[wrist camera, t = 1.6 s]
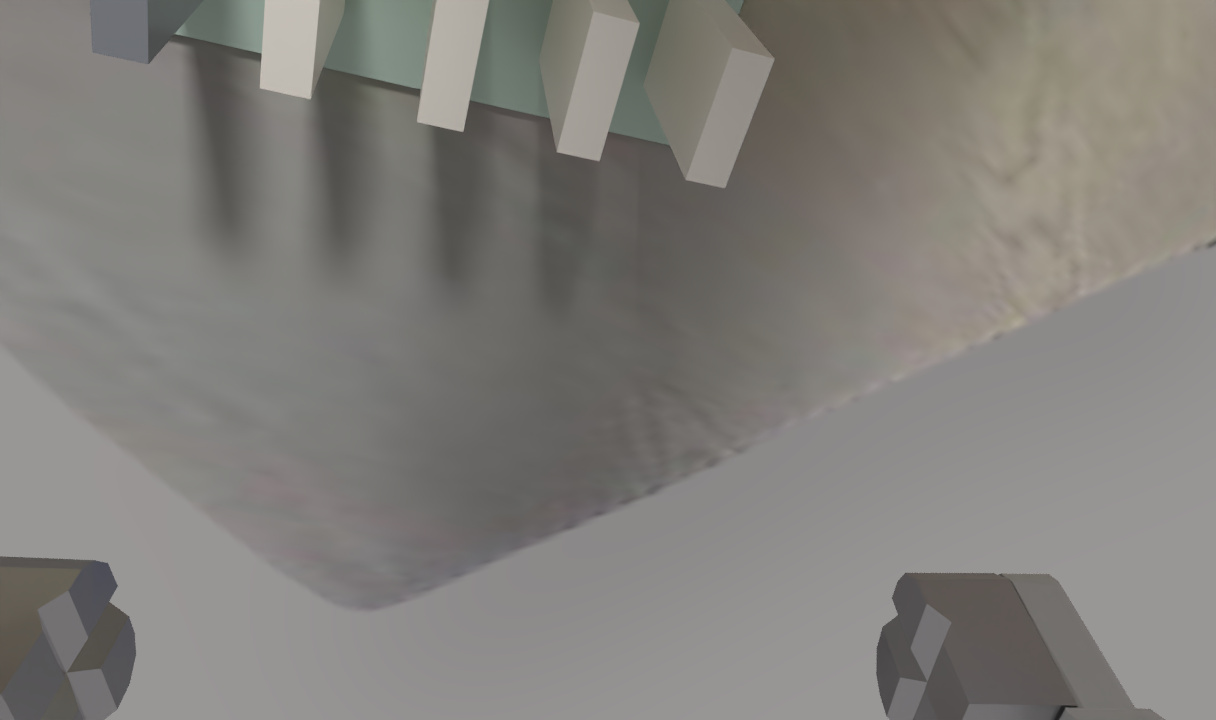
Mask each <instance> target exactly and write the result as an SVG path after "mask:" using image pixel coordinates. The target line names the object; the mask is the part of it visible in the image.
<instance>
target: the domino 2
mask: <svg viewBox="0 0 1216 720" xmlns="http://www.w3.org/2000/svg"><path fill="white" fill-rule="evenodd" d="M344 7H345V0H265V8H264V25H263V42H262V59H261V76H260V88H261V89H266V90H270V91H275V92H280V93H284V94H289V95H293V96H298V97H303V98H307V99H311V97H312V94H313V92H314V89H315V87H316V84H317V82H318V79H319V76H320V74H321V71H322V69H323V66H324V63H325V61H326V58H327V56H328V53H329V50H330V48H331V45H332V43H333V40H334V38H335V35H336V32H337V30H338V27H339V25H340V22H341V19H342V17H343V14H344Z"/></svg>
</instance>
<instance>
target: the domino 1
mask: <svg viewBox="0 0 1216 720" xmlns="http://www.w3.org/2000/svg"><path fill="white" fill-rule="evenodd" d="M202 1H203V0H90V8H91V29H92V49H93V52H94V53H98V54H103V55H108V56H112V57H117V58H122V59H126V60H131V61H136V62H140V63H145V64H149V63H150V62H151V61H152V59H153V58H154V57H155V56H156V55H157V54H158V52H159V51H160V50H161V49H162V48H163V47H164V46H165V44H166V43H167V42H168V41H169V40H170V39H171V37H172V36H173V35H174V34H175V33H176V32H177V30H178V29H179V28H180V27H181V26H182V25H183V24H184V22H185V21H186V20H187V19H188V18H189V17H190V15H191V14H192V13H193V12H194V11H195V10H196V8H197V7H198V6H199V5H200V4H201V3H202Z"/></svg>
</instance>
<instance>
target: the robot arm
mask: <svg viewBox="0 0 1216 720" xmlns="http://www.w3.org/2000/svg"><path fill="white" fill-rule="evenodd" d="M116 588H117V583H116V581H115V579H114V576H113V574H112V572H111V569H110V567H109V565H108V563H104V562H100V561H95V560H73V559H49V558H23V557H0V720H104V719H105V718H107V717H108V716H109V715H111V714H112V713H113V712H115V711H116V710H117V709H118V707H119V705H120V703H121V700H122V698H123V696H124V694H125V692H126V690H127V688H128V686H129V683H130V680H131V675H132V670H133V666H134V661H135V656H136V647H135V633H134V630H133V627H132V624H131V621H130V619H129V616H127V615H126V614H125V613H124V612H122V611H121V610H120V609H118V608H117V607H115V606H114V605H112V604H111V603H110V602H109V601H110V599H111V597H112V595H113V594H114V592H115V590H116ZM892 599H893V602H894V605H895V607H896V610H897V613H898V616H896V617H895V618H894V619H893V620H891V621H890V622H889V623H887V624H886V625H885V626H883V628H882V632H881V636H880V639H879V642H878V646H877V672H876V673H877V680H878V686H879V692H880V696H881V699H882V703H883V706H884V709H885V712H886V716H887V717H888V718H889V719H890V720H1165V719H1163V718H1162V717H1161V716H1159V715H1158V714H1157V713H1155V712H1153V711H1152V710H1151V709H1137V708H1135V707H1134V705H1133V704H1132V702H1131V700H1130V699H1129V697H1128V695H1127V694H1126V692H1125V690H1124V689H1123V687H1122V685H1121V684H1120V682H1119V680H1118V679H1117V677H1116V675H1115V674H1114V672H1113V671H1112V669H1111V667H1110V666H1109V664H1108V662H1107V661H1106V659H1105V657H1104V656H1103V654H1102V653H1101V651H1100V650H1099V647H1098V646H1097V644H1096V642H1095V641H1094V639H1093V637H1092V636H1091V634H1090V633H1089V631H1088V629H1087V628H1086V626H1085V624H1084V623H1083V621H1082V620H1081V618H1080V616H1079V614H1078V613H1077V611H1076V609H1075V608H1074V606H1073V604H1072V603H1071V601H1070V600H1069V598H1068V596H1067V595H1066V593H1065V591H1064V590H1063V588H1062V586H1061V585H1060V583H1059V582H1058V581H1057V580H1056V579H1054V578H1053V577H1052V576H1050V575H1049V574H999V575H997V574H994V573H905V574H904V575H903V576H902V577H901V578H900V580H898V582H897V585H896V588H895V591H894V594H893V597H892Z"/></svg>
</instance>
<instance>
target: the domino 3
mask: <svg viewBox="0 0 1216 720" xmlns="http://www.w3.org/2000/svg"><path fill="white" fill-rule="evenodd" d="M488 4H489V0H433V1H432V7H431V13H430V19H429V25H428V31H427V39H426V48H425V56H424V65H423V73H422V82H421V90H420V99H419V107H418V116H417V122H419V123H424V124H428V125H433V126H437V127H442V128H447V129H451V130H456V131H461V132H463V131H464V126H465V121H466V116H467V111H468V106H469V100H470V95H471V90H472V85H473V80H474V75H475V70H476V65H477V60H478V55H479V50H480V44H481V39H482V34H483V29H484V24H485V19H486V14H487V9H488Z"/></svg>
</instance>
